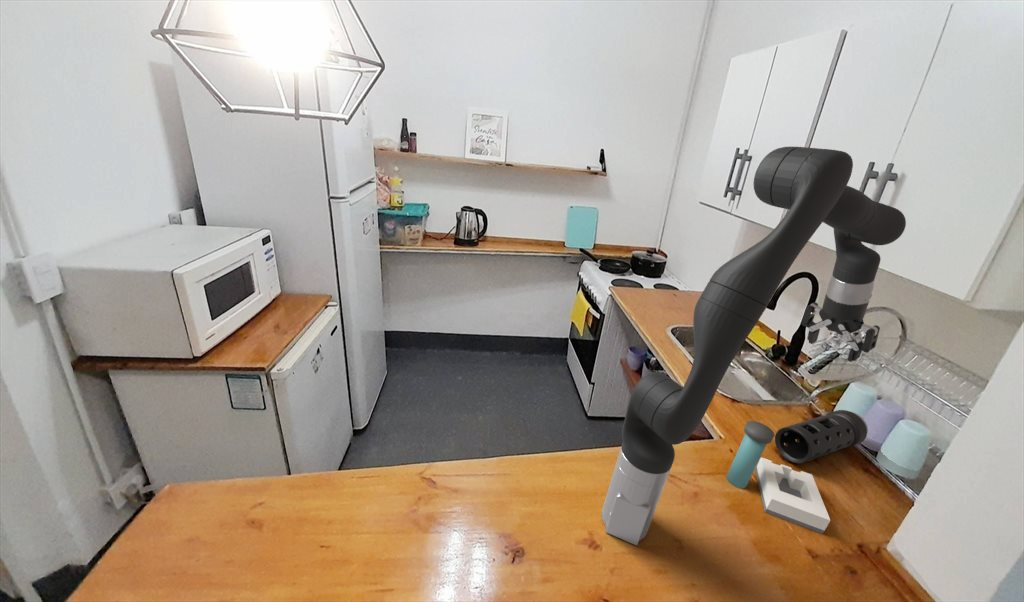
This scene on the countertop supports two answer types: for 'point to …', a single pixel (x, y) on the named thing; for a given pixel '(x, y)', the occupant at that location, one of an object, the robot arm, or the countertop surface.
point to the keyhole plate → (791, 495)
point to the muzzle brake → (820, 436)
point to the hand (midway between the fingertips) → (831, 350)
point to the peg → (749, 453)
